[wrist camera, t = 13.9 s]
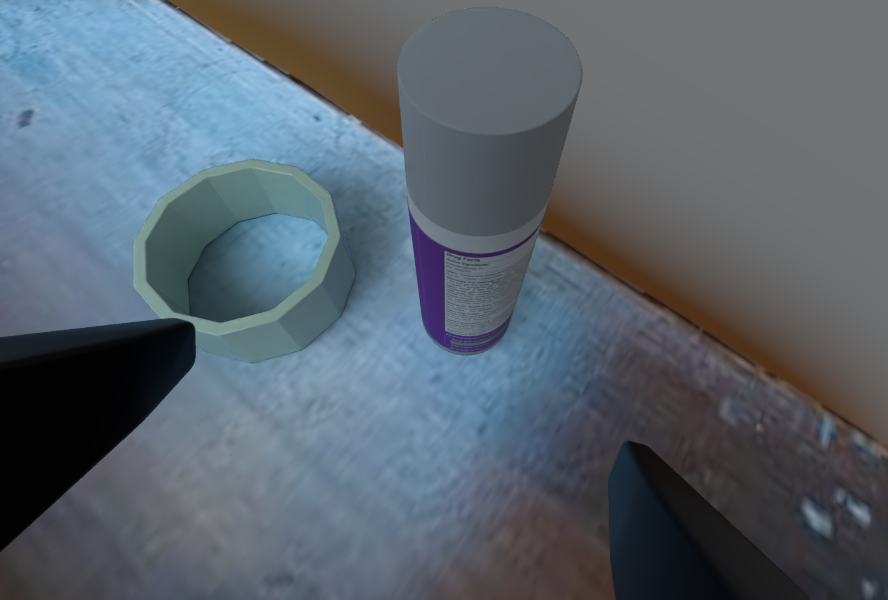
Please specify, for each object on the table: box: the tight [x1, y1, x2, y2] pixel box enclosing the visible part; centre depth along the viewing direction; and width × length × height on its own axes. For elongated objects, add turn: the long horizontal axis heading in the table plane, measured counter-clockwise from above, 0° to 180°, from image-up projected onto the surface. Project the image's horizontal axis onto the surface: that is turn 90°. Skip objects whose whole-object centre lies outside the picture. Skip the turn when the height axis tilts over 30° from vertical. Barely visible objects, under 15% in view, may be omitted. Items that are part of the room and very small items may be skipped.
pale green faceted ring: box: [133, 159, 355, 363], centre depth 24 cm, size 10×10×4 cm
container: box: [397, 7, 582, 355], centre depth 18 cm, size 5×5×15 cm
